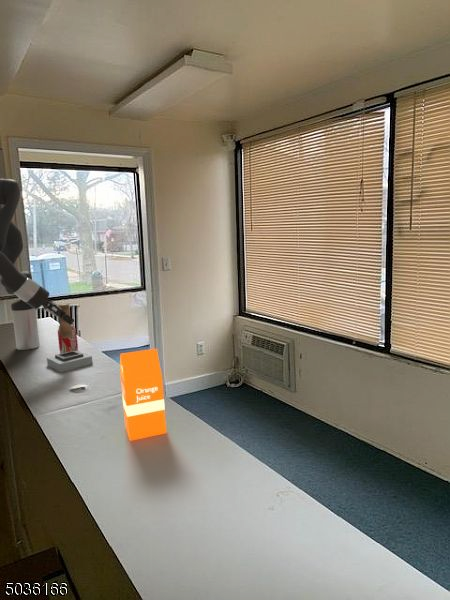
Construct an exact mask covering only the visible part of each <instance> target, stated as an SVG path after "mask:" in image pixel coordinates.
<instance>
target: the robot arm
mask: <svg viewBox="0 0 450 600" xmlns="http://www.w3.org/2000/svg"><path fill="white" fill-rule="evenodd" d="M20 198H21V189H20V185H19V182H18V181H17V180H15V179H11V178H9V179H8V178H0V276H1V278H0V284H1V285H2V286H3V287H4V289H5V291H6V293H7V294H9V295H16V297H17V298H19V300H16V301H14V302H12V303H11V305H10V307H11V314H12V320H13V321H12V323H13V329H14V337H15V344H16V350H18V351H26V350H27V351H28V350H32V349H36V348H38V347H39V348H40V347H41V346H40V345H41V344H40V337H39V336H40V335H39V330H38V329H39V328H38V327H39V326H38V321H37V314H36V312H37V311H36V310H37V309H39V308H41V306H42V307H43V310H44V311H46V312H48V313H50V314H51V315H53V316H54V317H57V318H59V317H60V319H63V320H64V321H66V322H67V323H69V324H70V325H71V324H73V323H74V322H75V319H74V318H72V317H71V315H70V316H68V315H67V314H66V312H64V311H62V310H61V308H60V307H59V306H58V304H56V302H55V301H54V300H51V299H49V300H48V298H49V297H50V292H49V291H48V290H47V289H45V288H44V287H43V286H41V285H40V284H39V283H37V282H36V281H35V280H33V276H32V273H31V272H30V271H27V270H25V271H20V270H19V269H17V268H16V266H15V263H16V261H17V260H18V258H19V257H20V255H21V254H22V252H23V250H24V242H23V236H22V232H21V230H20V229H19V227H18V226H17V225H16V223H14V222H13V218H14V216H15V213H16V210H17V209H18V208H17V207H18V205H19V203H20V202H19V201H20ZM2 205H3V207H2ZM60 312H62V314H61V315H59V314H60Z"/></svg>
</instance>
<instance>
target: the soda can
mask: <svg viewBox="0 0 450 600" xmlns="http://www.w3.org/2000/svg"><path fill="white" fill-rule="evenodd" d="M71 326H72V337H70V338H61V333H60V325H58V330H57V337H58V348H59V352H60V353H59V354H61V353H65V352H70V351H79V345H78V335H77V329H76V327H75V324H73V323H72V324H71Z"/></svg>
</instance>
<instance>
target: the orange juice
mask: <svg viewBox="0 0 450 600" xmlns="http://www.w3.org/2000/svg"><path fill="white" fill-rule="evenodd" d="M119 355H120V362H119V364H120V367H119V369H120V371H119V373H120V384H121V394H122V395H121V397H122V406H123V415H124V416H123V417H124V425H125V427H124V428H125V430H126V433H127V434H126V435H127V436H128V439H129V441H130V442H131V441H136V440H141V439H144V438H145V439H146V438H150V437H154V436H159V435H164V434H167V423H166V411H165V410H166V409H165V407H166V406H165V398H164V396H165V395H164V385H163V383H164V382H163V374H162V370H161V365H160V359H159V354H158V348H151V349H150V348H149V349H144V350H138V351H130V352H122V353H120V354H119Z"/></svg>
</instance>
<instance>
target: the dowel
mask: <svg viewBox="0 0 450 600" xmlns="http://www.w3.org/2000/svg"><path fill="white" fill-rule="evenodd" d="M57 306H59V307H60V308H61V310H62V311H64V312H66V314H67V315H68V316H70V317H71V309H70V304H69V303H62V304H57ZM61 314H62V312H60V314H59V315H61ZM58 323H59V326H60V333H61V338H70V337H72V326H71V325H70V324H69V323H67V322H66V321H64V320H63V319H60V317H58Z"/></svg>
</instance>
